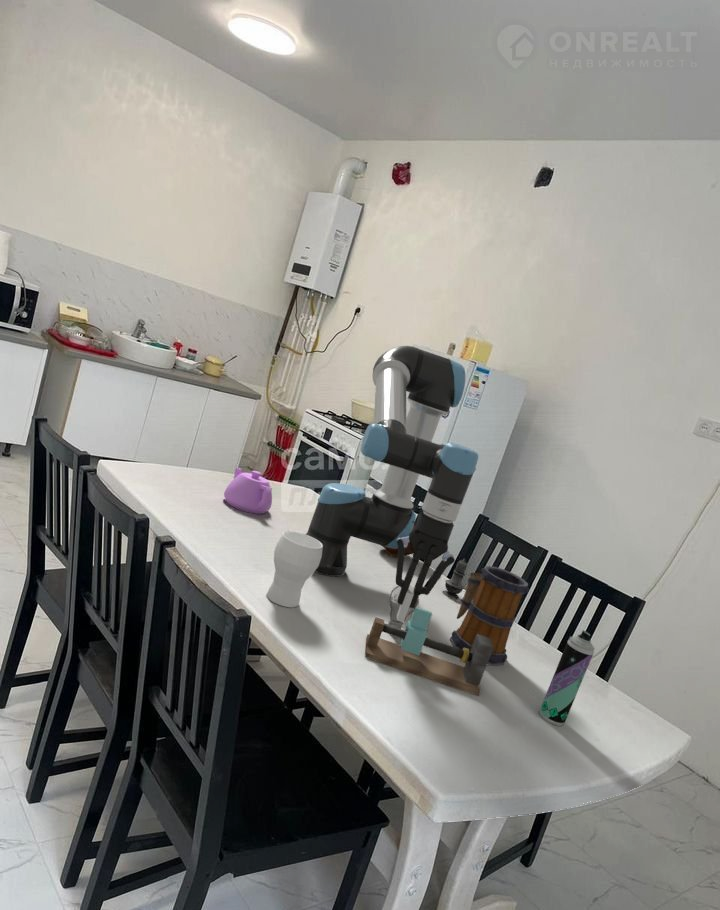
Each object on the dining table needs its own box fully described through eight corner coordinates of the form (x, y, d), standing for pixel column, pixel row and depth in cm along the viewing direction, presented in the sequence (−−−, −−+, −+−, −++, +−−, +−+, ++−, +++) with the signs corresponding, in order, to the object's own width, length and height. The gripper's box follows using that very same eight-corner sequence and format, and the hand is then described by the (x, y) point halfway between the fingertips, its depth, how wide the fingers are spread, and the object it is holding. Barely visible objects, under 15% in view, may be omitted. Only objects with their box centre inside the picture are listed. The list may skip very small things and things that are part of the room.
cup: (312, 605, 162) (332, 546, 159) (290, 614, 152) (311, 552, 150) (275, 585, 165) (294, 528, 163) (251, 594, 156) (271, 532, 154)
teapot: (282, 521, 222) (294, 486, 220) (241, 517, 212) (253, 480, 210) (248, 496, 238) (259, 463, 236) (209, 491, 227) (220, 457, 226)
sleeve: (401, 649, 146) (415, 610, 145) (400, 641, 150) (414, 603, 149) (419, 655, 146) (433, 617, 145) (418, 647, 150) (432, 609, 149)
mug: (429, 622, 177) (456, 551, 174) (474, 629, 183) (501, 560, 180) (469, 663, 159) (499, 584, 157) (517, 669, 166) (547, 593, 163)
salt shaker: (459, 601, 202) (473, 564, 201) (440, 594, 203) (454, 556, 201) (460, 596, 208) (474, 559, 206) (442, 588, 209) (455, 552, 207)
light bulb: (409, 634, 164) (426, 588, 163) (402, 642, 158) (419, 595, 156) (382, 621, 166) (399, 576, 164) (374, 630, 160) (391, 582, 158)
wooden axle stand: (364, 657, 143) (380, 613, 142) (366, 637, 153) (380, 597, 152) (478, 695, 144) (495, 652, 142) (472, 674, 154) (488, 633, 152)
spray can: (535, 707, 148) (569, 623, 145) (558, 714, 148) (593, 630, 146) (543, 722, 142) (579, 634, 139) (568, 728, 143) (604, 641, 140)
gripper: (408, 510, 140) (370, 615, 143) (469, 531, 140) (430, 635, 143) (407, 502, 148) (371, 603, 151) (465, 522, 148) (427, 622, 151)
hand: (400, 618), depth 147 cm, fingers closed
